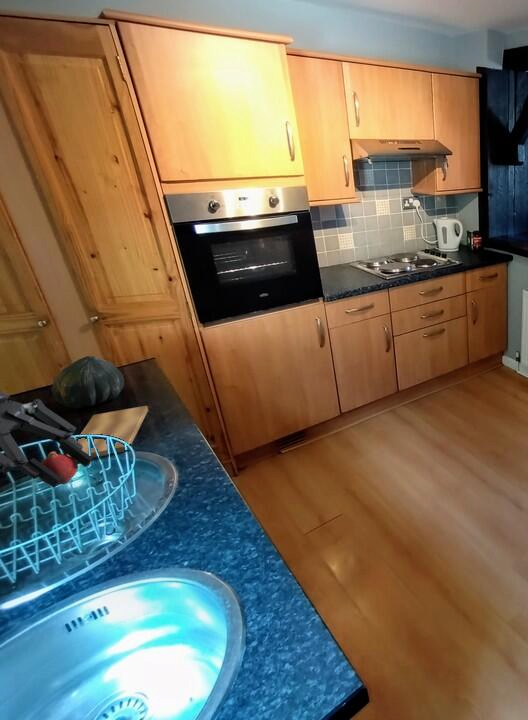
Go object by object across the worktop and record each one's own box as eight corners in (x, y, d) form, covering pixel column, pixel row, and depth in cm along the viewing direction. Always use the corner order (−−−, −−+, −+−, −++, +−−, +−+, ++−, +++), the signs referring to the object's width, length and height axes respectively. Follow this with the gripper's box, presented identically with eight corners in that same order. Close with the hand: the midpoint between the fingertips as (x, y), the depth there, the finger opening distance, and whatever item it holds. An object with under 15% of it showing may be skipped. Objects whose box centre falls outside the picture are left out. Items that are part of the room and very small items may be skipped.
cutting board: (66, 463, 108) (63, 458, 107) (95, 419, 124) (93, 414, 123) (128, 450, 112) (126, 445, 112) (148, 409, 129) (146, 405, 128)
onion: (56, 496, 92) (40, 464, 89) (39, 488, 94) (23, 457, 91) (89, 478, 97) (75, 447, 94) (72, 471, 99) (59, 441, 96)
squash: (37, 389, 127) (44, 360, 120) (98, 368, 140) (108, 340, 133) (71, 426, 127) (80, 399, 120) (129, 402, 141) (140, 375, 133)
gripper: (19, 385, 99) (109, 453, 104) (-98, 435, 82) (17, 514, 87) (30, 366, 96) (122, 436, 101) (-88, 413, 79) (30, 496, 84)
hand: (74, 472), depth 94 cm, fingers closed on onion, 6 cm apart
